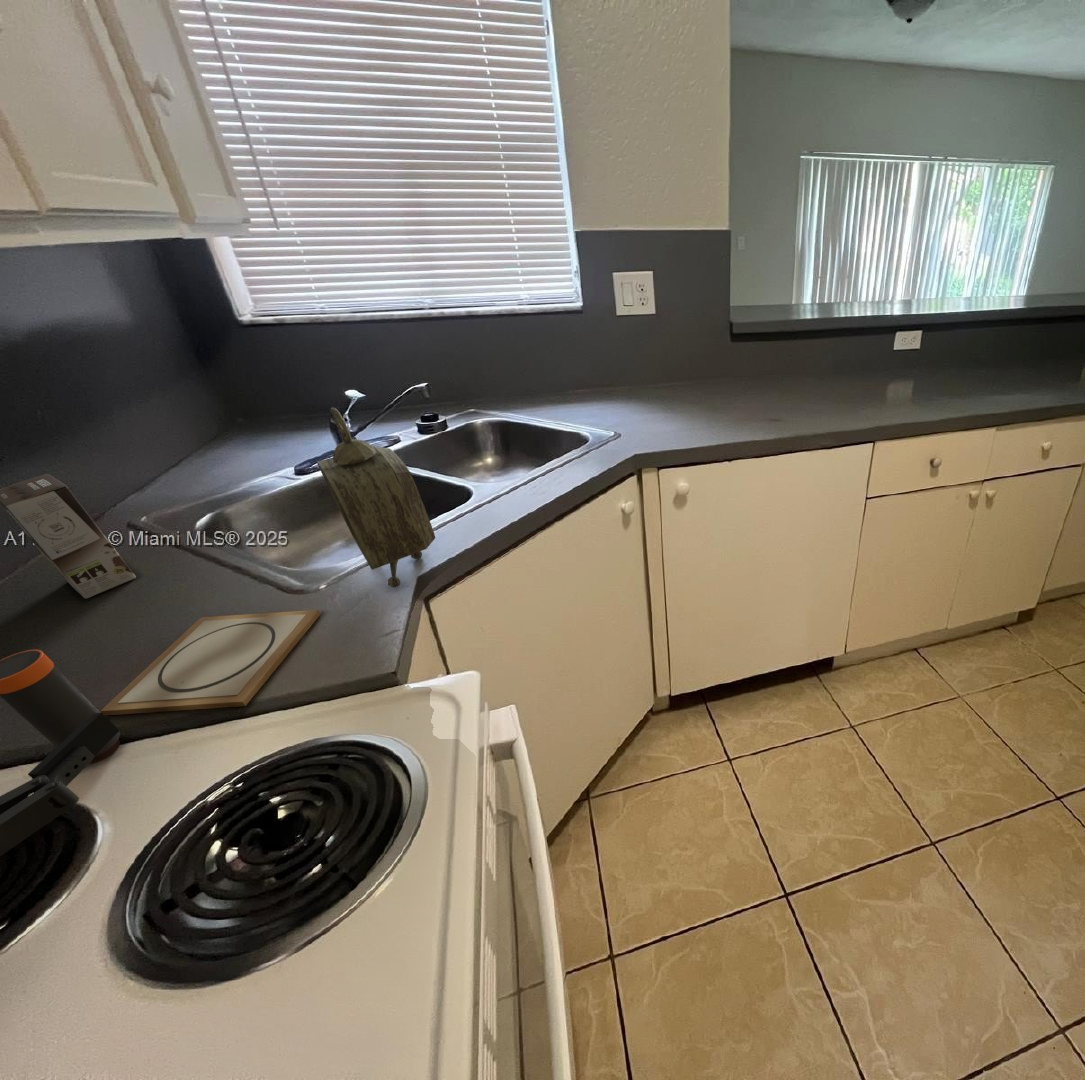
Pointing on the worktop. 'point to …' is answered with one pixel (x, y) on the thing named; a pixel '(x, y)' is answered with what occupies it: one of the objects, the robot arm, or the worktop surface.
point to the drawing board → (215, 663)
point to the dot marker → (47, 698)
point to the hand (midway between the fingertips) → (36, 726)
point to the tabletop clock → (377, 501)
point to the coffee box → (65, 534)
